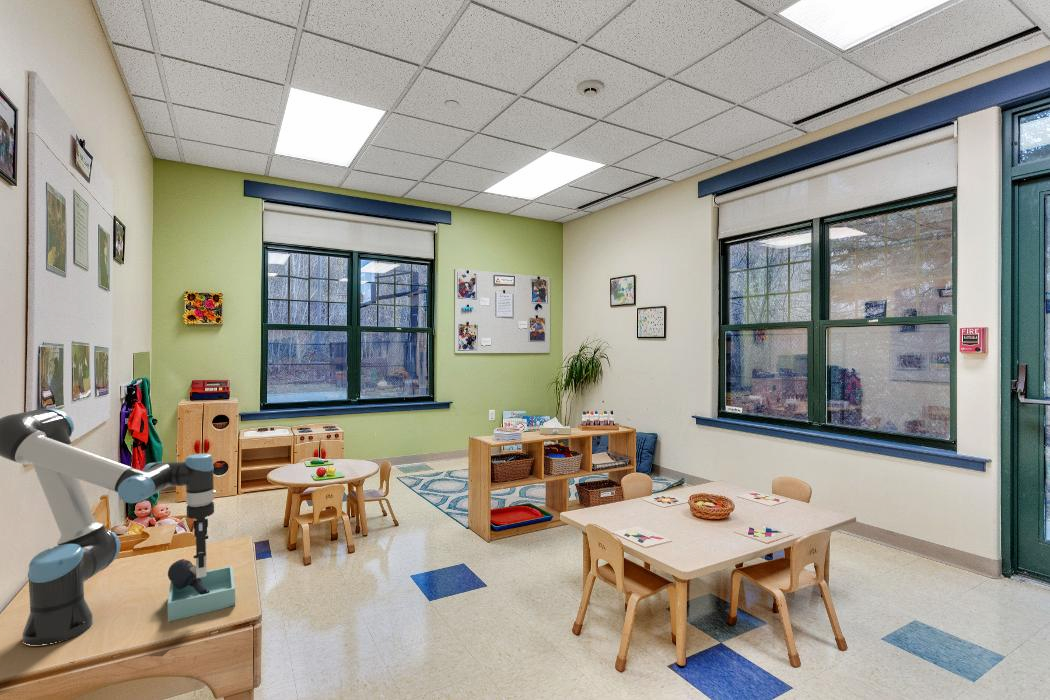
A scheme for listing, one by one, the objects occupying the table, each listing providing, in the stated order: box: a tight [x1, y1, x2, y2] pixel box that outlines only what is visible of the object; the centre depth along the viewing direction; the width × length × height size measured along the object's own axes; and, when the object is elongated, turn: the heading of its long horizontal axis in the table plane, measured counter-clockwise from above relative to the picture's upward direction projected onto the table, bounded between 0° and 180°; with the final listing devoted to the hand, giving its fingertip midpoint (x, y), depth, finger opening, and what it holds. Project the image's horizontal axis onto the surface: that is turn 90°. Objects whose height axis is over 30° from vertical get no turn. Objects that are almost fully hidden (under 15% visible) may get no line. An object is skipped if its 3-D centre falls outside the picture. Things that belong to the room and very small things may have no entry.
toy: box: [167, 558, 210, 595], centre depth 170 cm, size 9×8×15 cm
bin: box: [167, 565, 236, 622], centre depth 169 cm, size 18×19×6 cm
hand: (201, 568), depth 169 cm, fingers open, 13 cm apart
